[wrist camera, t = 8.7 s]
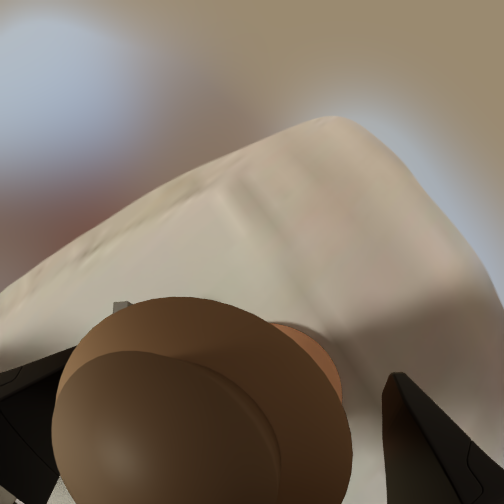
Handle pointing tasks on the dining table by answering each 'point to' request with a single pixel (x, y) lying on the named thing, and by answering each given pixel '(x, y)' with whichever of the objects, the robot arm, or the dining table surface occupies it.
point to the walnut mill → (197, 412)
